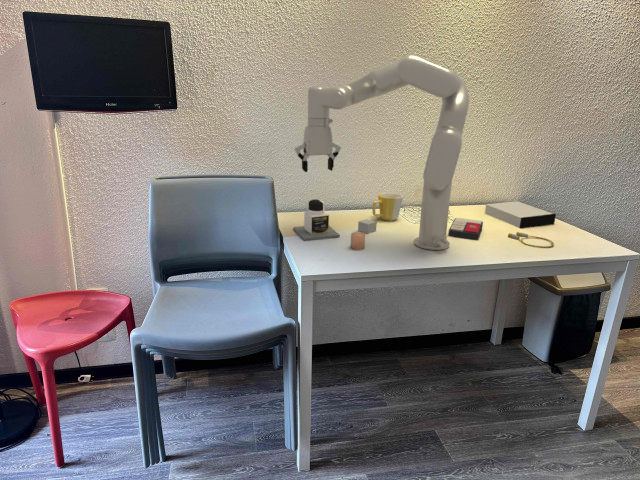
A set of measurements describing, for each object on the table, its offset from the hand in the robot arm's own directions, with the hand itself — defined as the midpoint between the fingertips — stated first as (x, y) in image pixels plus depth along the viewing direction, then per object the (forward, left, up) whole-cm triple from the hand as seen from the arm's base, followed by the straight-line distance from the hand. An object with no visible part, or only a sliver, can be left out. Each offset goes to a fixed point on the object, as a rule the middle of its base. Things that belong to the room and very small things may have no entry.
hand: (317, 170), depth 181 cm
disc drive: (-7, -89, -25) cm, 93 cm away
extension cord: (-32, -74, -25) cm, 84 cm away
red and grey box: (-16, -56, -25) cm, 63 cm away
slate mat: (0, 0, -24) cm, 24 cm away
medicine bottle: (0, 0, -24) cm, 24 cm away
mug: (+9, -34, -25) cm, 43 cm away
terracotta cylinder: (-19, -9, -24) cm, 32 cm away
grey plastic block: (-3, -20, -24) cm, 32 cm away
